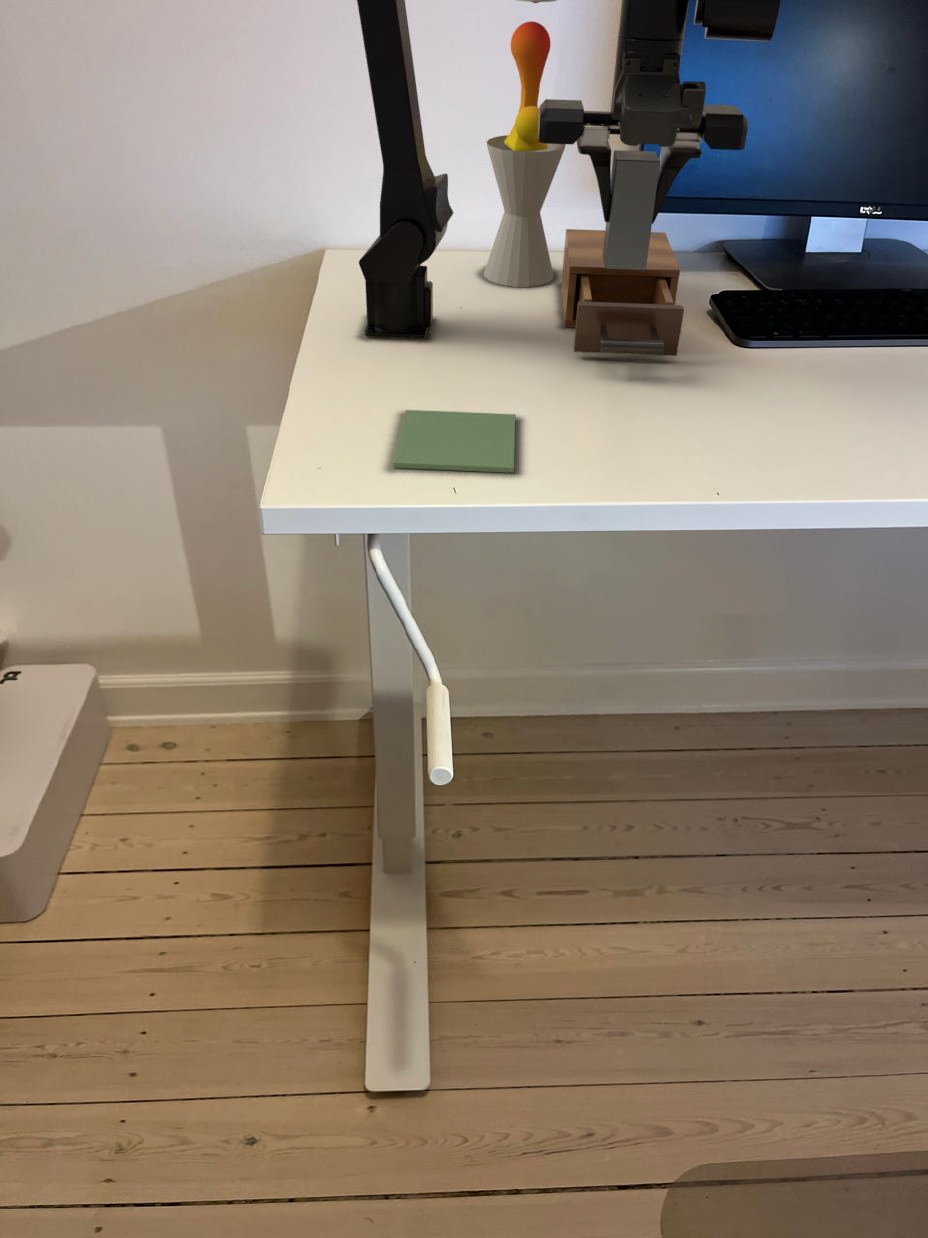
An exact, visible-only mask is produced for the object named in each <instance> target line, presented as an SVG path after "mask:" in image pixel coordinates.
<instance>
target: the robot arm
mask: <svg viewBox="0 0 928 1238" xmlns="http://www.w3.org/2000/svg"><path fill="white" fill-rule="evenodd" d="M781 1H782V0H696V2H695V9H694V18H693V25H694V26H695V25H697V26H700V25H701V28H702V29H703V28H705V29H704V40H705V39H706V40H722V41H724V40H726V41H745V42H746V41H747V42H764V43H765V42H767V43H768V42H769V43H770V42H771V41H772V39H773V36H774V32H775V29H776V24H777V22H778V21H777V20H778V16H779V11H780V6H781ZM356 2H357V3H356V4H357V7H358V8H357V10H358V16H359V21H360V29H361V34H362V41H363V48H364V53H365V59H366V65H367V71H368V78H369V85H370V90H371V97H372V104H373V109H374V117H375V123H376V130H377V134H378V141H379V148H380V153H381V160H382V161H381V162H382V180H381V189H380V198H379V199H380V200H379V235H378V237H377V238H376V239H375V241H374V242H373V243H372V244H371V245H370V247H369V248H368V249H367V250H366V252H364V254H363V255H362V257H361V258H360V259H359V260H358V265H359V268H360V271H361V273H362V276H363V278H364V282H365V283H364V284H365V303H366V304H365V305H366V325H365V328H364V336H365V337H368V338H370V337H371V338H391V339H392V338H395V339H396V338H397V339H418V340H420V339H422V340H423V339H425V338H426V336H427V332H428V329H430V328H431V327H432V324H433V318H434V307H433V306H434V282H432V281H431V280H428V266H427V265H422V264H423V263H425V262H426V261H428V260H429V259H430V258H431V257H432V255H433V254H434V253H435V251H436V249H437V247H438V246H439V244H440V243H441V241H442V240H443V238H444V236H445V235H446V232H447V230H448V225H449V224H448V223H449V221H450V220H451V218H452V217H453V215H454V210H453V208H452V206H451V204H450V200H449V196H448V195H449V194H448V193H449V175H448V173H442V174H438V175H435V174H434V172H433V169H432V167H431V165H430V163H429V161H428V157H427V155H426V154H427V153H426V148H425V140H424V133H423V126H422V118H421V110H420V103H419V96H418V87H417V81H416V73H415V66H414V58H413V51H412V44H411V37H410V36H411V35H410V29H409V20H408V13H407V6H406V5H407V4H406V0H356ZM620 4H621V5H620V6H621V7H620V15H619V24H618V25H619V26H618V33H617V34H618V35H617V43H616V54H615V62H614V63H615V64H614V72H613V73H614V74H613V83H612V91H611V92H612V93H611V101H610V110H609V111H602V110H601V111H600V110H599V111H598V110H585V108H584V104H583V101H582V100H580V99H579V100H578V99H554V98H553V99H552V98H546V99H544V101H543V102H542V103H541V104H540V105H538V108H539V119H538V141H539V142H540V143H544V144H565V145H573V146H574V144H576V147H577V151H578V153H579V154H580V155H586V156H589V158H590V161H591V164H592V167H593V170H594V173H595V177H596V183H597V187H598V192H599V193H598V194H599V197H600V204H601V209H602V210H601V211H602V215H603V221H604V223H606V222H609V216H610V208H611V173H612V165H611V164H612V148H611V145H610V142H609V140H610V135H617V136H619V140H620V141H621V143H622V144H624V145H626V146H631V147H637V146H638V145H658V147H661V148H660V153H659V156H658V158H659V160H660V168H659V175H658V183H657V190H656V197H655V205H654V212H653V219H652V225H653V224H654V223H655V222H656V219H657V217H658V215H659V213H660V210H661V208H662V206H663V204H664V202H665V199H666V198H667V196H668V194H669V192H670V189H671V187H672V185H673V184H674V182H675V180H676V178H677V177H678V175H679V173H680V172H681V171H682V169H683V168H684V167H685V165H686V164H687V163H688V162H689V161H690V160H691V159H700V158H701V157H702V154H703V152H702V149H701V148H700V144H701V143H702V142H703V141H704V143H705V144H706V145H707V146H708V148H709V149H710V150H721V151H742V150H745V146H746V141H747V136H748V130H749V128H748V127H749V121H748V120H747V118H746V116H745V115H744V113H742V111H740V109H739V108H738V107H737V106H736V105H734V104H733V105H732V104H731V105H729V104H705V101H706V92H707V87H706V86H707V85H706V82H705V81H699V80H697V81H696V80H695V81H694V80H693V81H692V80H685V81H683V82H682V83H681V78H680V69H681V68H680V67H681V61H682V54H683V46H684V37H685V33H686V25H687V17H688V10H689V4H690V0H621V3H620Z"/></svg>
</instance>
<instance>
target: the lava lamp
mask: <svg viewBox="0 0 928 1238" xmlns="http://www.w3.org/2000/svg"><path fill="white" fill-rule="evenodd" d="M517 1H518V2H528V3H533V4H539V3H549V2H556V1H558V0H516V2H517ZM550 51H551V37H550V34H549V32H548V30H547V29H546V27H545V26H544V25H543V24H541V23H539V22H537V21H532V20H531V21H526V22H523V23H521V24H520V25H519V26H518V27H516V29H515V30H514V32H513V33H512V35H511V39H510V52H511V55H512V57H513V60H514V62H515V64H516V65H515V66H516V68H517V70H518V75H519V81H520V104H519V109H518V112H517V115H516V117H515V119H514V124H513V126H512V128H511V130H510V131H509V133H508V134H505V135H497V136H494V137H491V138H488V140H487V141H486V147H487V151H488V155H489V158H490V162H491V165H492V166H491V167H492V169H493V170H492V171H493V173H494V177H495V180H496V183H497V189H498V192H499V195H500V199H501V203H502V207H503V210H504V211H503V214H502V218H501V220H500V224H499V226H498V229H497V232H496V235H495V239H494V241H493V245H492V248H491V250H490V253H489V257H488V259H487V263H486V265H485V269H484V272H483V276H484V278H485V279H486V280H488V281H489V282H491V283H495V284H497V285H502V286H505V287H513V288H514V287H516V288H531V287H538V286H542V285H546V284H548V283H550V282H551V281H553V280H554V277H555V274H554V271H553V266H552V262H551V257H550V252H549V248H548V243H547V237H546V234H545V227H544V224H543V220H542V215H541V210H542V208H543V206H544V204H545V200H546V198H547V195H548V193H549V191H550V188H551V185H552V183H553V180H554V177H555V176H556V173H557V170H558V167H559V165H560V162H561V159H562V157H563V154H564V152H565V148H566V144H544V143H540V142H539V141H538V119H539V104H538V103H539V94H540V87H541V82H542V77H543V73H544V69H545V66H546V63H547V60H548V58H549V57H548V56H549V54H550Z"/></svg>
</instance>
